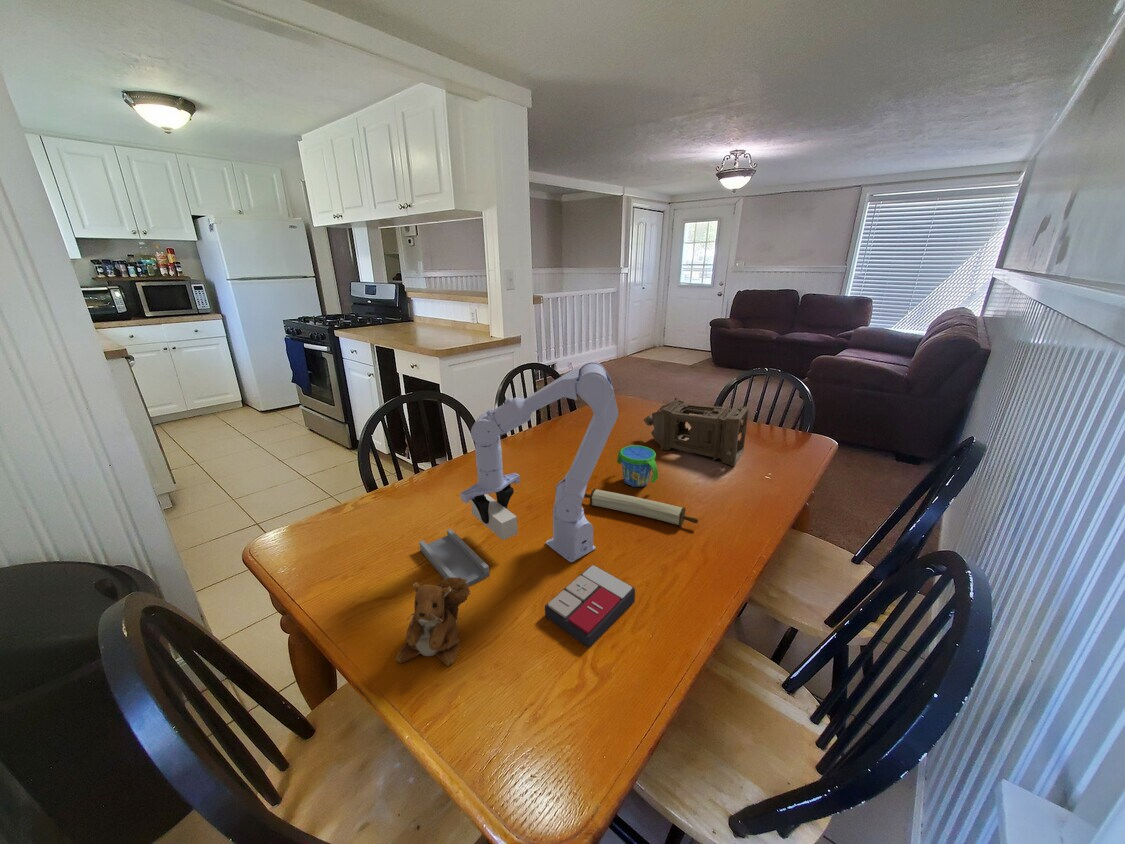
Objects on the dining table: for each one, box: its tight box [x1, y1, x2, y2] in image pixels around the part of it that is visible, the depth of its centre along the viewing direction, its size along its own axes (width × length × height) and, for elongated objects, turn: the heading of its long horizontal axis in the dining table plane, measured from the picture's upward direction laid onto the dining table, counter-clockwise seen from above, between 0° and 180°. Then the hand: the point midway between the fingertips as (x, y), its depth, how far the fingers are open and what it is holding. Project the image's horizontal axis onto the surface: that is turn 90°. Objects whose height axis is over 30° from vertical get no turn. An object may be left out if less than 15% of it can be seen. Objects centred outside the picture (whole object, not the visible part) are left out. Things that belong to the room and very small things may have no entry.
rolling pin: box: [584, 487, 699, 528], centre depth 114 cm, size 32×6×5 cm, turn 65°
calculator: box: [544, 564, 636, 648], centre depth 83 cm, size 11×4×15 cm
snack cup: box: [616, 444, 659, 488], centre depth 130 cm, size 16×10×10 cm
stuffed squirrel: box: [395, 577, 471, 667], centre depth 75 cm, size 10×14×13 cm
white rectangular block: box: [470, 494, 519, 541], centre depth 101 cm, size 14×4×4 cm, turn 40°
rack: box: [418, 528, 490, 588], centre depth 96 cm, size 18×8×2 cm, turn 40°
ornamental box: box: [643, 397, 750, 468], centre depth 152 cm, size 35×18×18 cm, turn 57°
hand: (493, 517), depth 101 cm, fingers closed on white rectangular block, 4 cm apart
